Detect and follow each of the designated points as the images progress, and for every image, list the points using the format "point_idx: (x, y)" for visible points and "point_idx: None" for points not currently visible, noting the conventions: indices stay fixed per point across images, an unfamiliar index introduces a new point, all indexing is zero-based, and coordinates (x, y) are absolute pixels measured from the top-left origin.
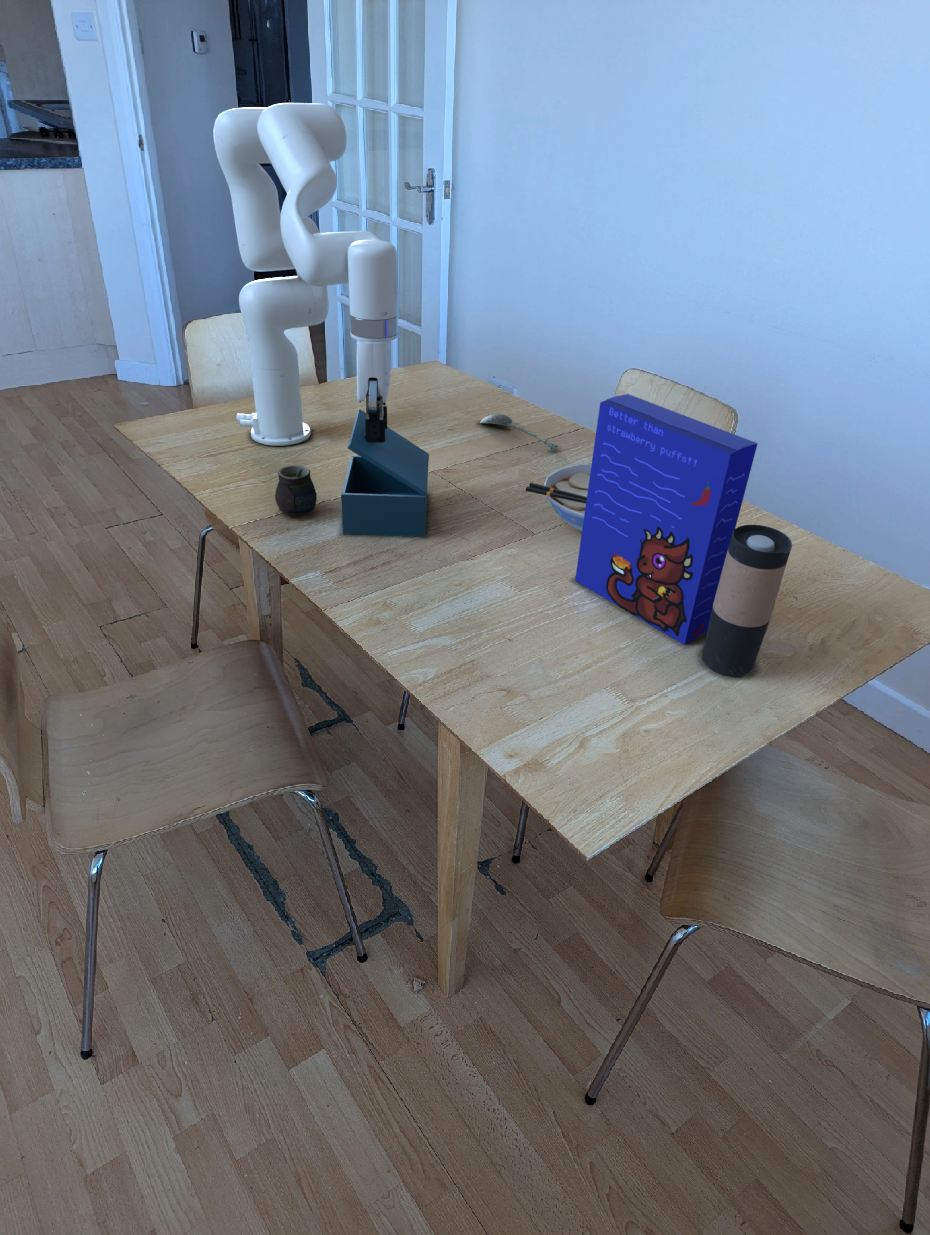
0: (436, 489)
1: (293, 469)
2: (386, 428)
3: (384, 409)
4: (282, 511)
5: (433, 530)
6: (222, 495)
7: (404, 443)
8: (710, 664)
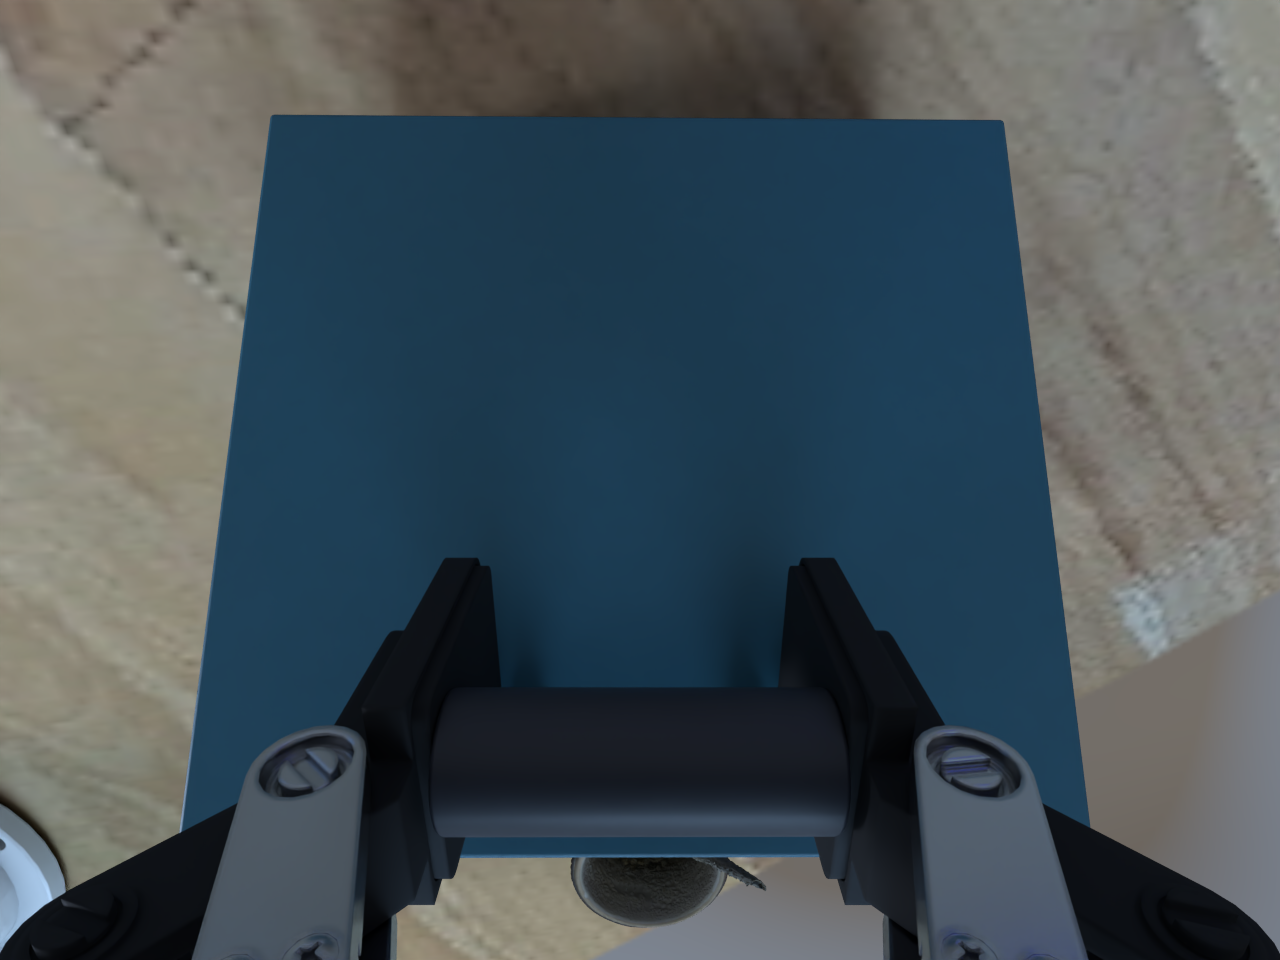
0: (306, 96)
1: (588, 869)
2: (478, 560)
3: (432, 714)
4: None
5: (809, 108)
6: (535, 943)
7: (359, 339)
8: None
